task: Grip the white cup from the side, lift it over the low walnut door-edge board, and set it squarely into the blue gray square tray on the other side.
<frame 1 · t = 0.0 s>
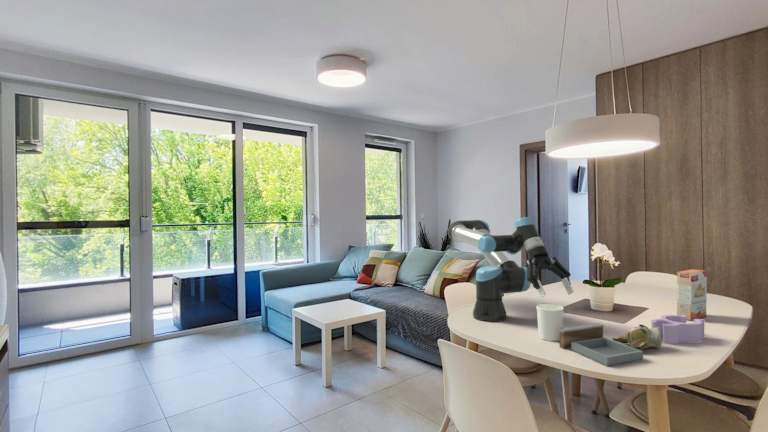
hand: (557, 294, 156), 15 cm above the table, fingers open, 13 cm apart
cracker box: (692, 317, 173), on the table
ceramic sculpture: (640, 348, 137), on the table
clip: (676, 338, 147), on the table
blue gray square tray: (605, 355, 131), on the table
white cup: (550, 338, 150), on the table
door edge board: (581, 344, 141), on the table
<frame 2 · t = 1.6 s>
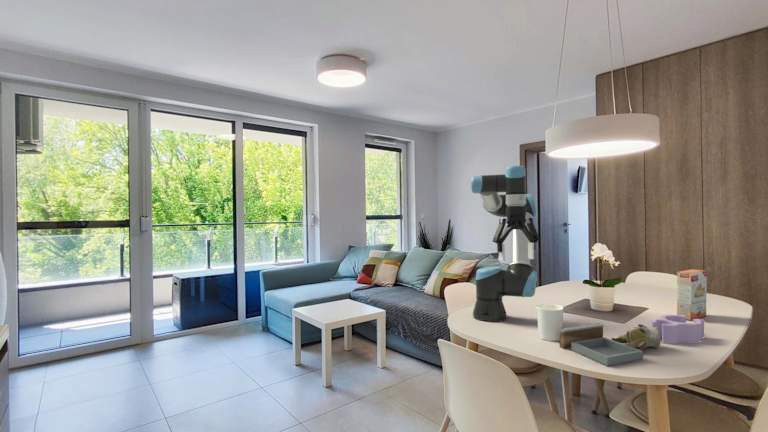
hand: (516, 259, 151), 30 cm above the table, fingers open, 13 cm apart
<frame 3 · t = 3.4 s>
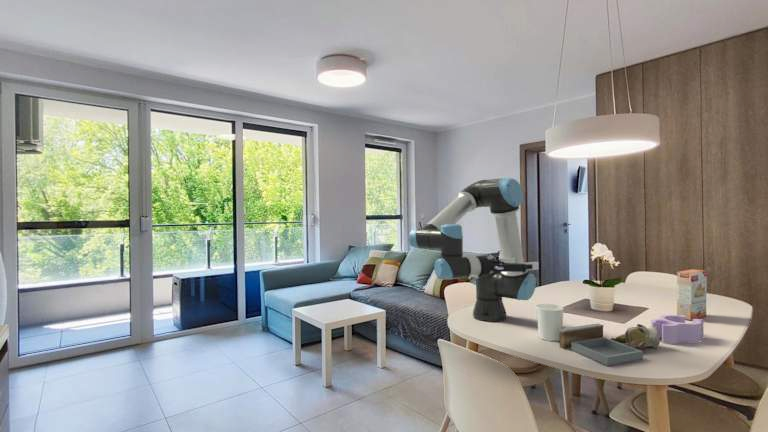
hand: (525, 263, 146), 30 cm above the table, fingers open, 13 cm apart
nothing on the table moved.
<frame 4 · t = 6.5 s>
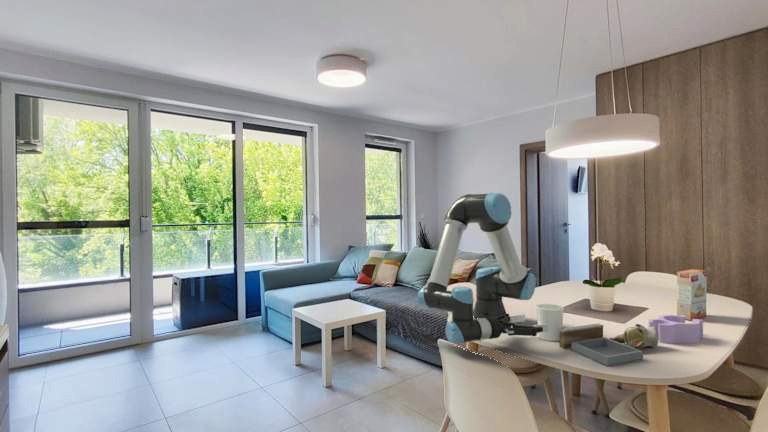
hand: (535, 322, 147), 7 cm above the table, fingers open, 13 cm apart
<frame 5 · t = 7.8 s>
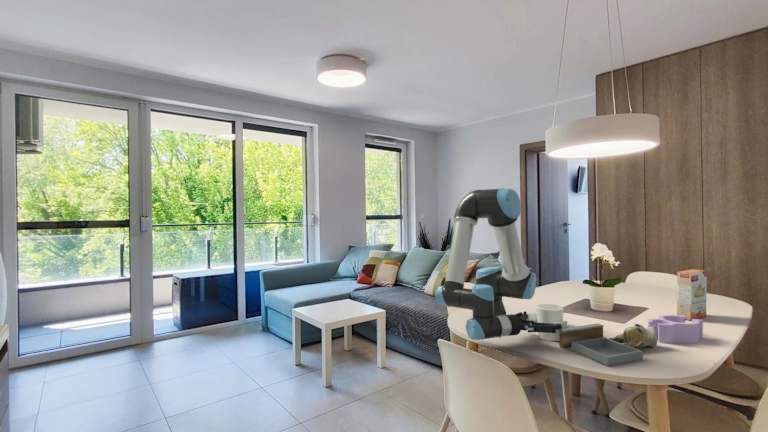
hand: (553, 319, 150), 7 cm above the table, fingers open, 13 cm apart
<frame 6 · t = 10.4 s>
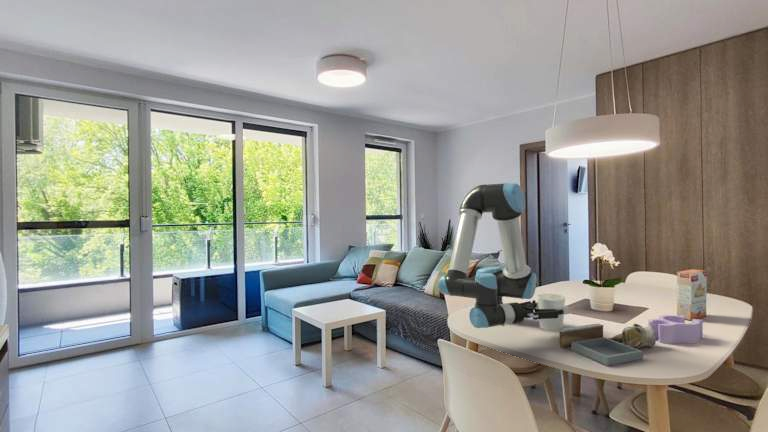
hand: (559, 307, 151), 12 cm above the table, fingers closed on white cup, 9 cm apart
white cup: (551, 327, 150), point 4 cm above the table, touching gripper
when the fingers open (9 cm above the table, at t = 15.7 s): white cup moves 1 cm, resting on blue gray square tray.
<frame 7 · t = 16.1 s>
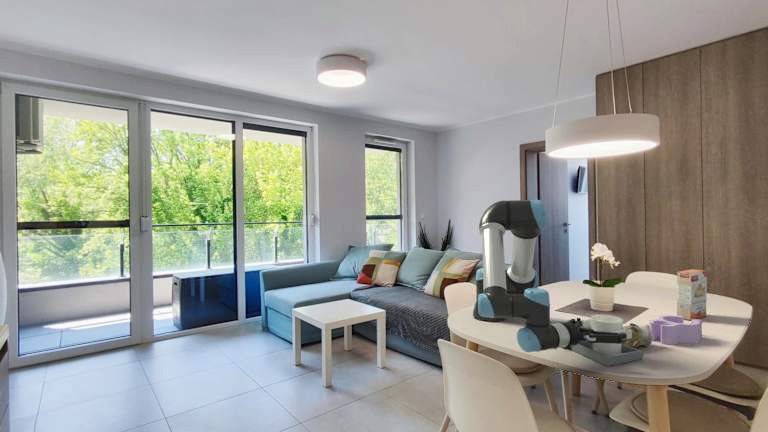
hand: (613, 327, 132), 9 cm above the table, fingers open, 13 cm apart
ceramic sculpture: (631, 347, 139), on the table
white cup: (606, 353, 132), resting on blue gray square tray
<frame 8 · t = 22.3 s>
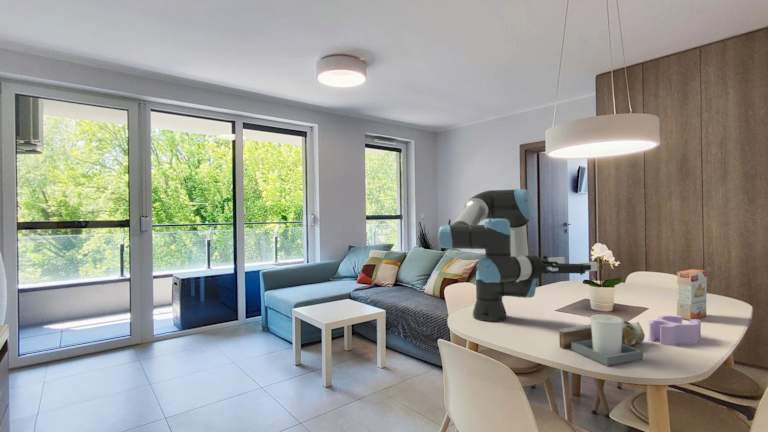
hand: (579, 263, 128), 32 cm above the table, fingers open, 13 cm apart
ceramic sculpture: (626, 345, 141), on the table
at the end: white cup 0.9 cm off-centre on the blue gray square tray, point 0.2 cm above the blue gray square tray's base; white cup tilted 0°; the gripper is holding nothing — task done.
